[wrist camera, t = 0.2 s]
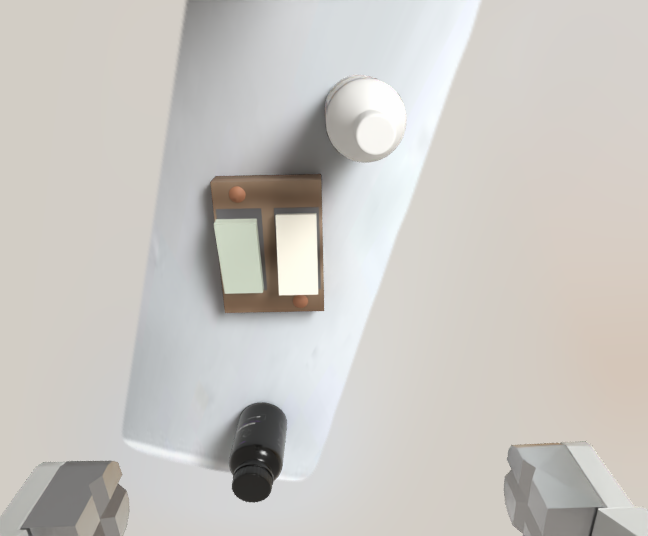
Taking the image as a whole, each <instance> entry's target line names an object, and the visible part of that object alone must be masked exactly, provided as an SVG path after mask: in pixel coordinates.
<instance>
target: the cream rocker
mask: <svg viewBox="0 0 648 536" xmlns="http://www.w3.org/2000/svg"><path fill="white" fill-rule="evenodd" d="M276 239H277V262H278V285H279V295H318V259H317V216H316V213H297V214H276Z"/></svg>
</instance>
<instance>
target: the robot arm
mask: <svg viewBox="0 0 648 536" xmlns="http://www.w3.org/2000/svg"><path fill="white" fill-rule="evenodd" d="M507 460H508V463H509V465H510V467H511V469H512V470H511V471H510V472H509V473H508V474H507V475H506V476H505V481H504V496H505V504H506V507H507V511H508V514H509V517H510V519H511V522H512V525H513V526H514V527H516V528H517V529H518V530H519V531H520V532H522V533H523V536H648V510H647V509H646V508H644V507H635V506H634V504H633V503H632V502H631V500H630V499H629V497H628V496H627V495H626V493H625V492H624V491H623V489H622V488H621V486H620V485H619V484H618V482H617V481H616V479H615V478H614V476H613V475H612V474H611V472H610V471H609V470H608V468H607V467H606V466H605V464H604V463H603V461H602V460H601V458H600V457H599V456H598V454H597V453H596V452H595V450H594V449H593V447H592V446H591V445H590V444H589V443H587V442H586V441H580V442H561V443H544V444H524V445H511V447H510V449H509V451H508V457H507ZM121 476H122V472H121V469H120V467H119V463H118V462H115V461H70V462H69V461H68V462H43V463H41V464H40V465H38V466H37V467H36V468H35V469H34V470H33V472H32V473H31V474H30V476H29V477H28V479H27V480H26V481H25V483H24V484H23V486H22V487H21V489H20V490H19V491H18V493H17V494H16V495H15V497H14V498H13V500H12V501H11V503H10V504H9V505H8V507H7V508H6V510H5V511H4V512H3V514H2V515H1V517H0V536H123V534H124V532H125V529H126V526H127V522H128V516H129V498H128V494H127V491H126V490H125V489H124V488H123V487H122V486H120V485H119V484H118V482H119V480H120V478H121Z"/></svg>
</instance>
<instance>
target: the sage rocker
mask: <svg viewBox="0 0 648 536" xmlns="http://www.w3.org/2000/svg"><path fill="white" fill-rule="evenodd" d="M214 230H215V236H216V242H217V248H218V255H219V261H220V267H221V273H222V279H223V286H224V292H225V294H235V293H263V289H264V283H263V274H262V264H261V255H260V245H259V236H258V226H257V219H216V220H215V223H214Z"/></svg>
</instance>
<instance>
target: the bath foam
mask: <svg viewBox="0 0 648 536" xmlns="http://www.w3.org/2000/svg"><path fill="white" fill-rule="evenodd" d="M325 123H326V131H327V134H328V137H329V139H330V141H331V143H332V145H333V146H334V147H335V149H336V150H337V151H338V152H339V153H341V154H342V155H343V156H345V157H347V158H348V159H351V160H353V161H357V162H374V161H378V160H381V159H383V158H385V157H386V156H388V155H389V154H391V153H392V152H393V151H394V150H395V149H396V147H397V146H398V145H399V143H400V142H401V140H402V138H403V136H404V133H405V129H406V110H405V107H404V104H403V101H402V99H401V97H400V96H399V94H398V93H397V92H396V91H395V90H394V89H393V88H392V87H391V86H389V85H388V84H386V83H384V82H382V81H380V80H377V79H376V78H373V77H370V76H365V75H351V76H348V77H345V78H343V79H341V80H340V81H339V82H337V83H336V84H335V85H334V86H333V87H332V89H331V90H330V92H329V94H328V96H327V99H326V103H325Z"/></svg>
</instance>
